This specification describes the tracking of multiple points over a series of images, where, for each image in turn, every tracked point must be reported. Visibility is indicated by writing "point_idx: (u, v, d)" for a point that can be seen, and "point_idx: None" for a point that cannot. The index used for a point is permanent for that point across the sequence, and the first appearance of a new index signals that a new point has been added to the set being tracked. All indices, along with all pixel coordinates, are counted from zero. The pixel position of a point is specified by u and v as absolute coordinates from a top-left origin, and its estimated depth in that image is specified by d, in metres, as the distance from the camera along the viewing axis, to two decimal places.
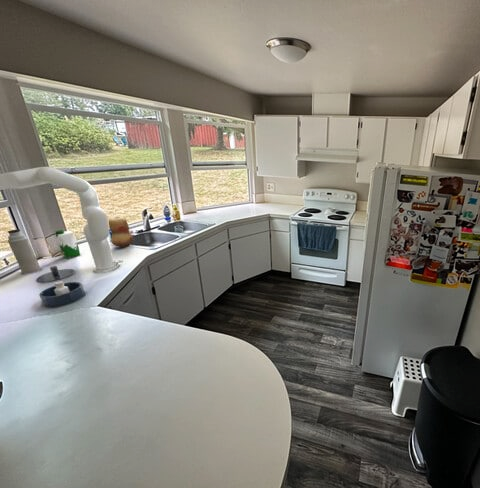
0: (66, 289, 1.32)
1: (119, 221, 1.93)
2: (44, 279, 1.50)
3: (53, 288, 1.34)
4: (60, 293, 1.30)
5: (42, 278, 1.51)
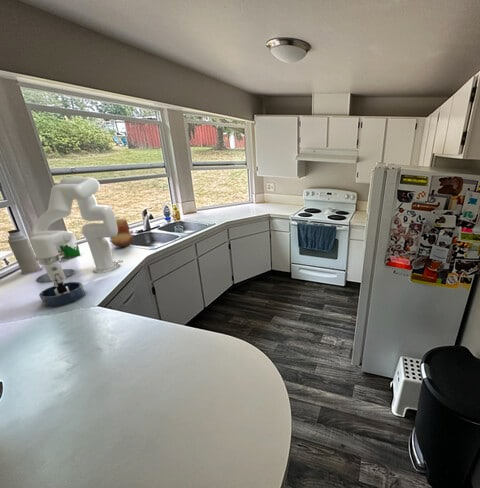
0: None
1: (119, 221, 1.93)
2: (44, 279, 1.50)
3: (53, 288, 1.34)
4: None
5: (42, 278, 1.51)
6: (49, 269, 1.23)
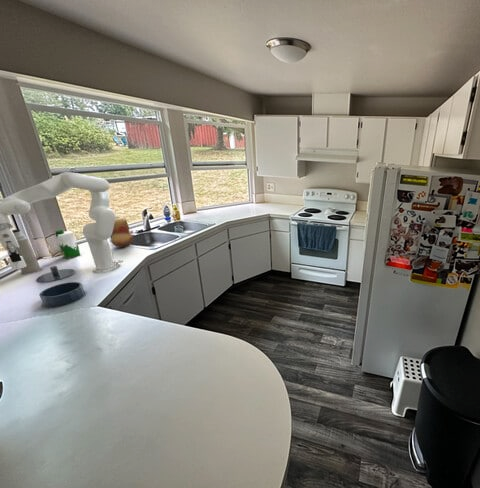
0: None
1: (119, 221, 1.93)
2: (44, 279, 1.50)
3: (53, 288, 1.34)
4: (14, 262, 1.28)
5: (42, 278, 1.51)
6: (0, 236, 1.21)
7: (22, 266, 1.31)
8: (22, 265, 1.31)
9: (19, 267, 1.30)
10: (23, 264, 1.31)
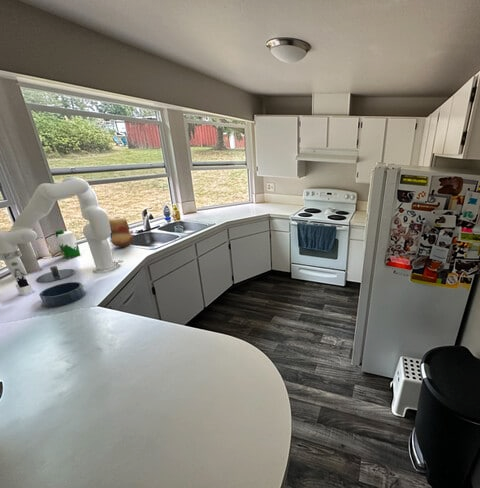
0: None
1: (119, 221, 1.93)
2: (44, 279, 1.50)
3: (53, 288, 1.34)
4: (21, 288, 1.34)
5: (42, 278, 1.51)
6: (9, 264, 1.27)
7: (29, 292, 1.37)
8: (29, 291, 1.37)
9: (26, 293, 1.36)
10: (30, 289, 1.37)
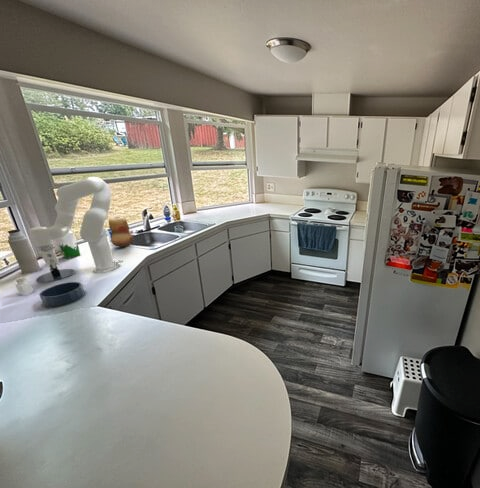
0: (28, 284, 1.36)
1: (119, 221, 1.93)
2: (44, 279, 1.50)
3: (53, 288, 1.34)
4: (21, 288, 1.34)
5: (42, 278, 1.51)
6: (45, 255, 1.46)
7: (29, 292, 1.37)
8: (29, 291, 1.37)
9: (26, 293, 1.36)
10: (30, 289, 1.37)
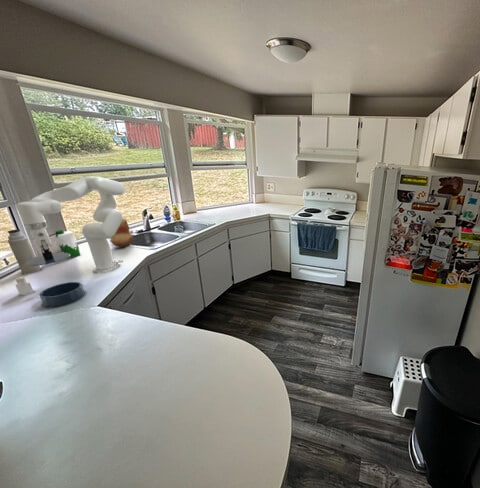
0: (28, 284, 1.36)
1: None
2: (34, 262, 1.30)
3: (53, 288, 1.34)
4: (21, 288, 1.34)
5: (32, 261, 1.31)
6: (35, 235, 1.27)
7: (29, 292, 1.37)
8: (29, 291, 1.37)
9: (26, 293, 1.36)
10: (30, 289, 1.37)
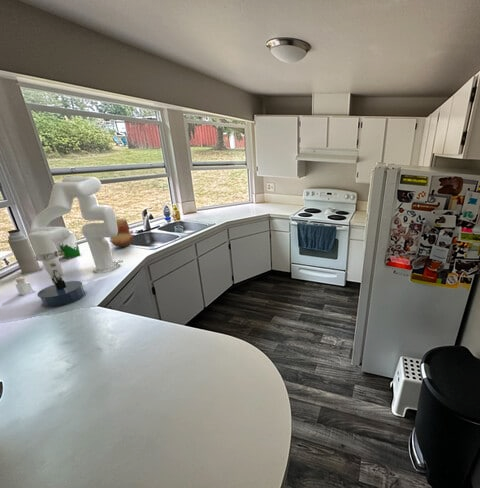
0: (28, 284, 1.36)
1: (119, 221, 1.93)
2: (46, 294, 1.25)
3: None
4: (21, 288, 1.34)
5: (44, 292, 1.27)
6: (48, 265, 1.22)
7: (29, 292, 1.37)
8: (29, 291, 1.37)
9: (26, 293, 1.36)
10: (30, 289, 1.37)
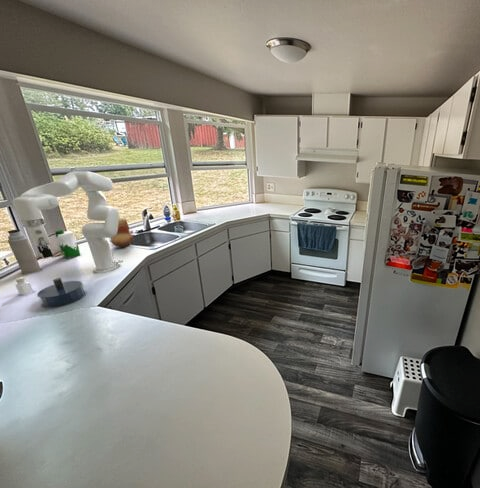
0: (28, 284, 1.36)
1: (119, 221, 1.93)
2: (46, 294, 1.25)
3: None
4: (21, 288, 1.34)
5: (44, 292, 1.27)
6: (33, 232, 1.19)
7: (29, 292, 1.37)
8: (29, 291, 1.37)
9: (26, 293, 1.36)
10: (30, 289, 1.37)
